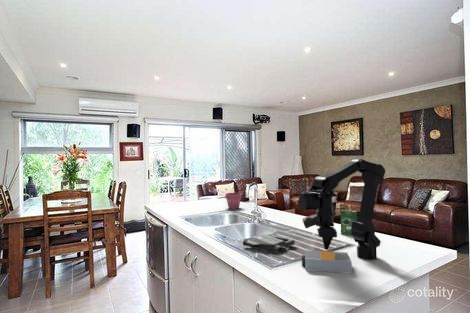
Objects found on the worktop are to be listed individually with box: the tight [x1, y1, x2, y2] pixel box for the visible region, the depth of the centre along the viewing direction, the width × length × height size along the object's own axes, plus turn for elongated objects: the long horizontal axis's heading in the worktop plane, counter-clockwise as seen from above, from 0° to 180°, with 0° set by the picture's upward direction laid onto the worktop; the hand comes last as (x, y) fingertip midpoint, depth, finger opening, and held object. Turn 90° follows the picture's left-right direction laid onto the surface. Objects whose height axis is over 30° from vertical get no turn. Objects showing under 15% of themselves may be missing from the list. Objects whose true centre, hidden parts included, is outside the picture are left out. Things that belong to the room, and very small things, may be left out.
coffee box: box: [340, 209, 357, 236], centre depth 145 cm, size 8×3×13 cm, turn 61°
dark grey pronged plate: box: [242, 234, 296, 254], centre depth 127 cm, size 16×20×5 cm
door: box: [305, 250, 353, 274], centre depth 97 cm, size 16×1×8 cm, turn 76°
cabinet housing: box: [301, 250, 352, 267], centre depth 102 cm, size 17×8×5 cm, turn 76°
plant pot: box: [225, 192, 243, 210], centre depth 233 cm, size 14×14×13 cm
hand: (326, 249), depth 103 cm, fingers closed
